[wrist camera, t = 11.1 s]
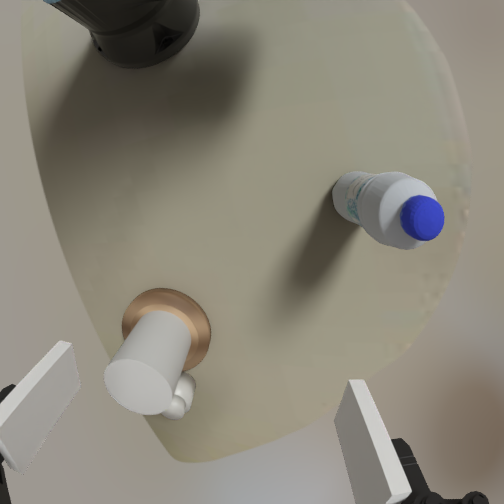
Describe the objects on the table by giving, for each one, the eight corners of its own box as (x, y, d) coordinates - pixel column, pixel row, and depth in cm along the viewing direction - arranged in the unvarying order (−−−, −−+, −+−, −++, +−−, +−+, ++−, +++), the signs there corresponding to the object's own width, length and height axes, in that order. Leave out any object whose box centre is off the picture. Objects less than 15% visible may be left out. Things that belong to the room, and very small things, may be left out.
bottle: (359, 159, 38) (444, 158, 19) (384, 203, 39) (475, 236, 20) (317, 186, 39) (374, 205, 20) (343, 230, 40) (412, 284, 21)
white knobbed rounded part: (165, 368, 46) (153, 396, 40) (196, 373, 46) (188, 402, 40) (166, 391, 48) (156, 419, 41) (195, 396, 48) (188, 425, 41)
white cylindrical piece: (143, 359, 43) (116, 411, 32) (130, 311, 41) (94, 357, 30) (195, 359, 43) (179, 416, 31) (185, 309, 41) (162, 359, 29)
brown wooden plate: (124, 282, 43) (118, 288, 40) (213, 294, 43) (211, 301, 41) (129, 357, 46) (125, 364, 44) (208, 370, 46) (207, 379, 44)
